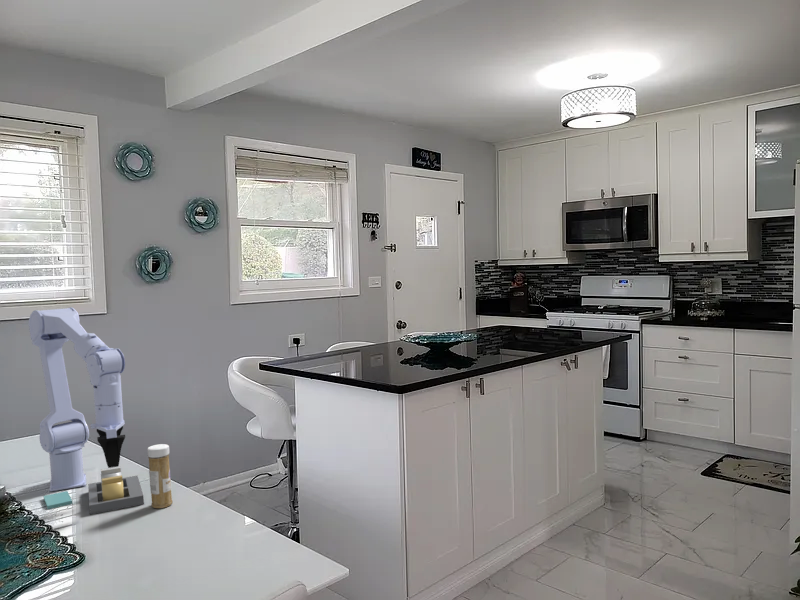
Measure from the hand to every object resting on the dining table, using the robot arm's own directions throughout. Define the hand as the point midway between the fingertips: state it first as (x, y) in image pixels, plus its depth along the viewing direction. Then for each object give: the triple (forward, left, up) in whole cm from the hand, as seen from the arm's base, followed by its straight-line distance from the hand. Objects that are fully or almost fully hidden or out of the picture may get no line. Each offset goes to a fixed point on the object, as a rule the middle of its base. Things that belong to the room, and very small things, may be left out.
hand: (112, 462), depth 145 cm
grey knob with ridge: (-7, 0, -9) cm, 12 cm away
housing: (-3, 0, -9) cm, 10 cm away
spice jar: (+8, +9, -10) cm, 15 cm away
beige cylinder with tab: (0, 0, -10) cm, 10 cm away
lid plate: (-8, -12, -9) cm, 17 cm away
